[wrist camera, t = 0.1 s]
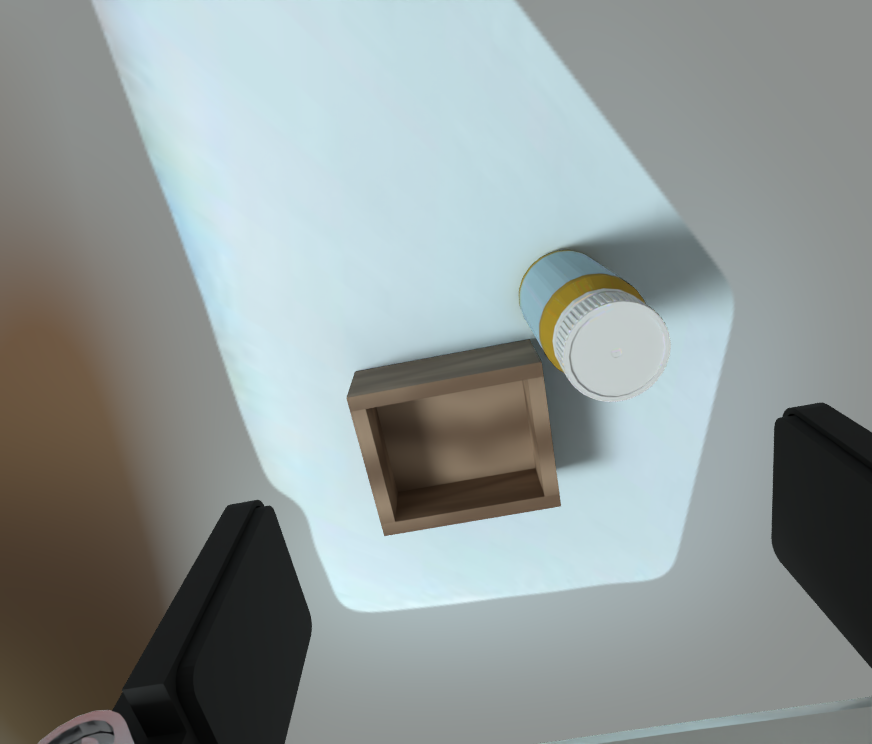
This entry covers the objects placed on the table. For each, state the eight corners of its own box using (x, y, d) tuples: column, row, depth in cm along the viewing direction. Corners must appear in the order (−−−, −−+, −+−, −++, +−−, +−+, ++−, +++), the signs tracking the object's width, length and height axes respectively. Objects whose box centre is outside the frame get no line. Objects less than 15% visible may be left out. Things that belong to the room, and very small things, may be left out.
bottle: (615, 259, 46) (698, 308, 32) (587, 341, 48) (652, 419, 34) (531, 239, 45) (578, 280, 31) (507, 323, 47) (540, 395, 33)
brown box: (355, 371, 49) (346, 397, 44) (529, 339, 48) (541, 361, 43) (388, 498, 53) (384, 536, 48) (547, 471, 53) (560, 506, 47)
